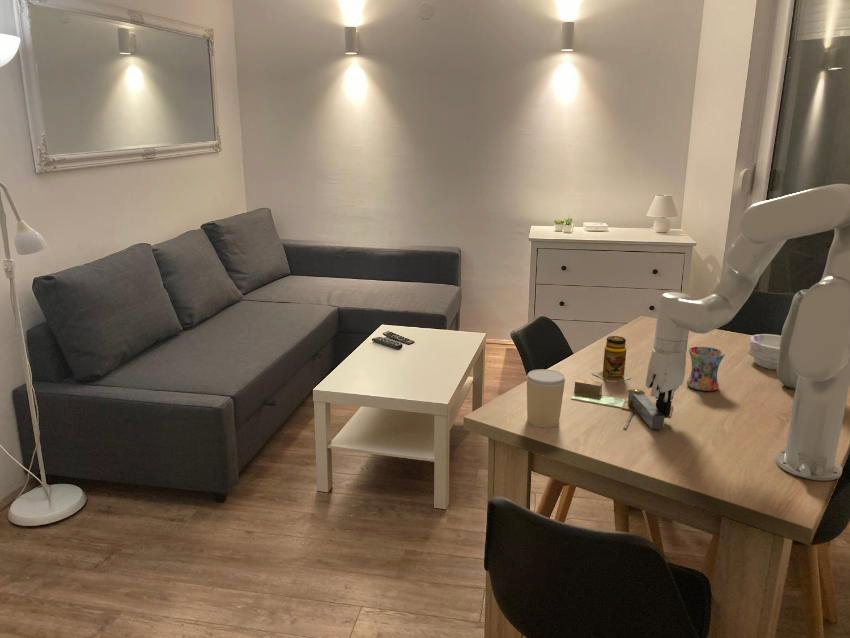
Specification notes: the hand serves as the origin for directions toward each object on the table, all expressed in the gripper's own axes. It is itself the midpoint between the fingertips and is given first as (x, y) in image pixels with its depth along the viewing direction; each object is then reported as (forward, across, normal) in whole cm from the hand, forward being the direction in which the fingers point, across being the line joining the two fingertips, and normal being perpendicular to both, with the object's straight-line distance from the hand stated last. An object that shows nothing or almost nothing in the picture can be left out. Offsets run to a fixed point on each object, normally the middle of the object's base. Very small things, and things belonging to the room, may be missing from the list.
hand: (662, 414), depth 173 cm
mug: (+2, -31, -6) cm, 32 cm away
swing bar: (+1, +1, -4) cm, 4 cm away
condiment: (+2, -17, -27) cm, 32 cm away
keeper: (+2, 0, -19) cm, 19 cm away
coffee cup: (+2, +23, -18) cm, 30 cm away
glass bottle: (+2, -51, +10) cm, 52 cm away
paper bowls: (+2, -65, -3) cm, 65 cm away
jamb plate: (+2, +2, -4) cm, 5 cm away
